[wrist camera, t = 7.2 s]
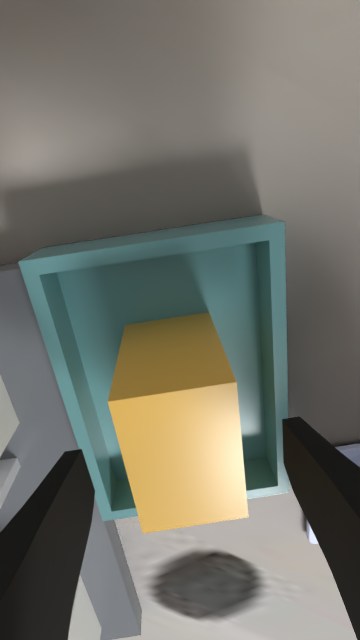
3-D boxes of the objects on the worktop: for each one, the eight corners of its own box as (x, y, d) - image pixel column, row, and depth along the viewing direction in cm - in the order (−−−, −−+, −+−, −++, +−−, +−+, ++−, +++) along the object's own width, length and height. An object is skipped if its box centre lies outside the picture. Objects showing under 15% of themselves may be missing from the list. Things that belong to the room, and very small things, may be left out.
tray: (263, 214, 15) (284, 221, 13) (272, 453, 21) (289, 492, 18) (41, 247, 15) (18, 261, 13) (109, 478, 21) (102, 521, 18)
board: (34, 260, 15) (-6, 285, 12) (141, 610, 26) (139, 682, 22) (-164, 290, 15) (-266, 324, 12) (23, 628, 26) (1, 704, 22)
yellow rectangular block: (209, 312, 16) (236, 382, 10) (220, 415, 18) (248, 517, 13) (125, 325, 16) (107, 401, 10) (147, 426, 18) (143, 533, 13)
